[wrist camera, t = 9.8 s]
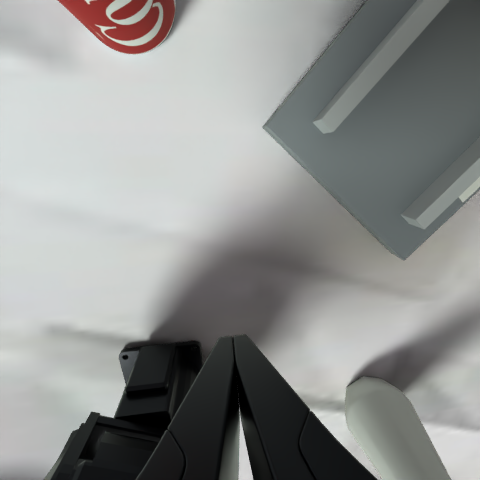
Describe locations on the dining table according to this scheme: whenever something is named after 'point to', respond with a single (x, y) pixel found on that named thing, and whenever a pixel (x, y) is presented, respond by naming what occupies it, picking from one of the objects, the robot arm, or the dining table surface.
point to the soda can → (125, 22)
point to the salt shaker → (391, 432)
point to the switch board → (393, 117)
